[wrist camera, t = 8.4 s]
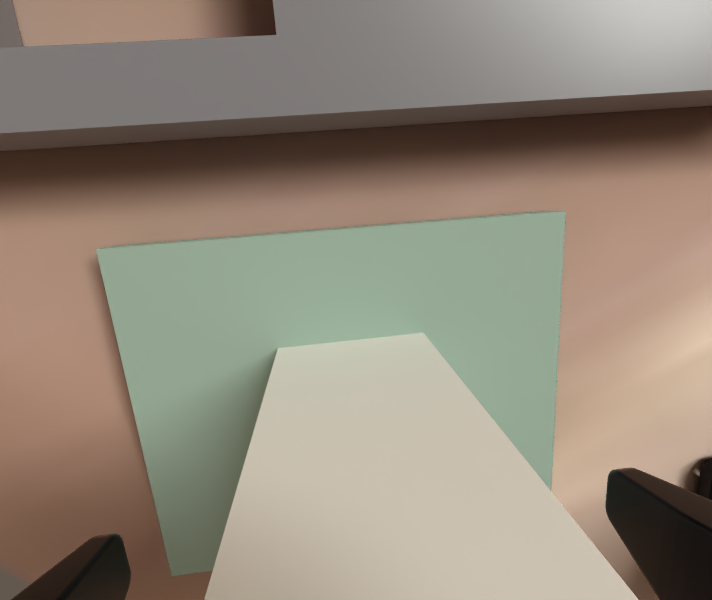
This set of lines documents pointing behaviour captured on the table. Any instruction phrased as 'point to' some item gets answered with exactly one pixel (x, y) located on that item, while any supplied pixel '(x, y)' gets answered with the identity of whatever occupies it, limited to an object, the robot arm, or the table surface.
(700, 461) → the table surface
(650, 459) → the table surface
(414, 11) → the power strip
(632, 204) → the table surface
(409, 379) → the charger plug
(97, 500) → the table surface
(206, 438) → the green mat
